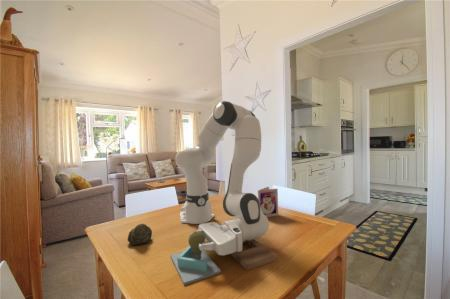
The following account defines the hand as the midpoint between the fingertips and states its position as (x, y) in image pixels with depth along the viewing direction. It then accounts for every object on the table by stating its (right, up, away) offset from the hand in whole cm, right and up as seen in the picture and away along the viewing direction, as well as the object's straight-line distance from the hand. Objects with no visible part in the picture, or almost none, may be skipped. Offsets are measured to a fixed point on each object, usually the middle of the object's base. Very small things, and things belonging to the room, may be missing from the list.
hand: (194, 241), depth 74 cm
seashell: (-26, -8, +21) cm, 34 cm away
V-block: (0, -8, 0) cm, 8 cm away
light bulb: (+1, -7, +1) cm, 7 cm away
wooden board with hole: (+18, -7, +9) cm, 21 cm away
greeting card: (+34, -5, +46) cm, 57 cm away
